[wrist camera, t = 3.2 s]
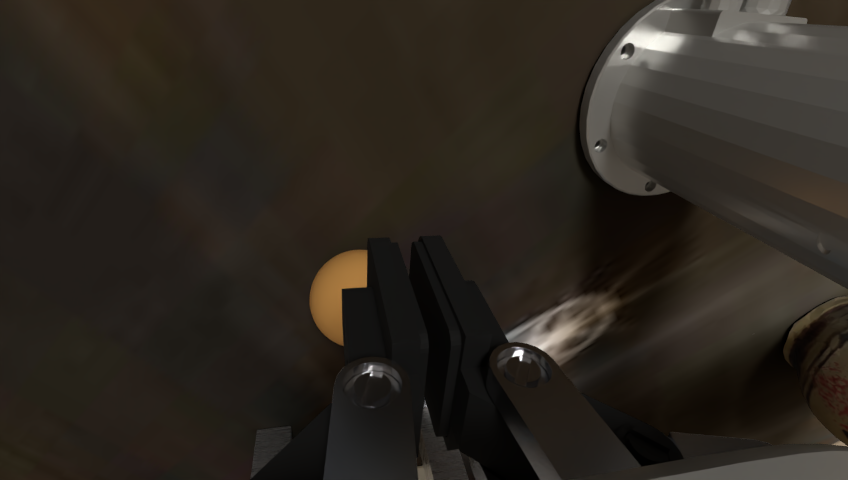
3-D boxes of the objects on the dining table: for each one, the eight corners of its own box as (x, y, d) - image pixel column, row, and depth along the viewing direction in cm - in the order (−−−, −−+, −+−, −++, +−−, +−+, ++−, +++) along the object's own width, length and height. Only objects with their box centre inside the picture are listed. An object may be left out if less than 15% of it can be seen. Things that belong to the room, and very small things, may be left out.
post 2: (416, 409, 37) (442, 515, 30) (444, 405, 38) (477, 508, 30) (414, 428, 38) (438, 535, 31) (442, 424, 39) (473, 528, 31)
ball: (307, 234, 27) (305, 290, 22) (401, 230, 28) (420, 282, 23) (312, 309, 30) (311, 375, 25) (397, 303, 31) (413, 364, 26)
